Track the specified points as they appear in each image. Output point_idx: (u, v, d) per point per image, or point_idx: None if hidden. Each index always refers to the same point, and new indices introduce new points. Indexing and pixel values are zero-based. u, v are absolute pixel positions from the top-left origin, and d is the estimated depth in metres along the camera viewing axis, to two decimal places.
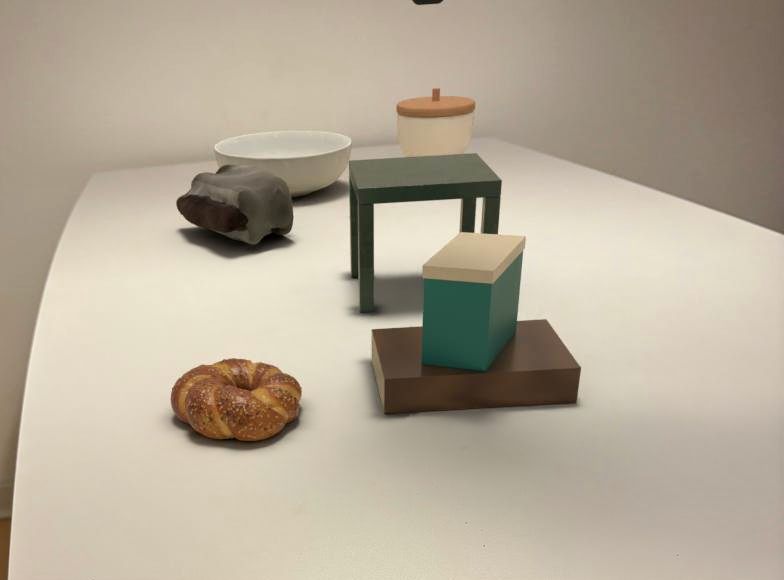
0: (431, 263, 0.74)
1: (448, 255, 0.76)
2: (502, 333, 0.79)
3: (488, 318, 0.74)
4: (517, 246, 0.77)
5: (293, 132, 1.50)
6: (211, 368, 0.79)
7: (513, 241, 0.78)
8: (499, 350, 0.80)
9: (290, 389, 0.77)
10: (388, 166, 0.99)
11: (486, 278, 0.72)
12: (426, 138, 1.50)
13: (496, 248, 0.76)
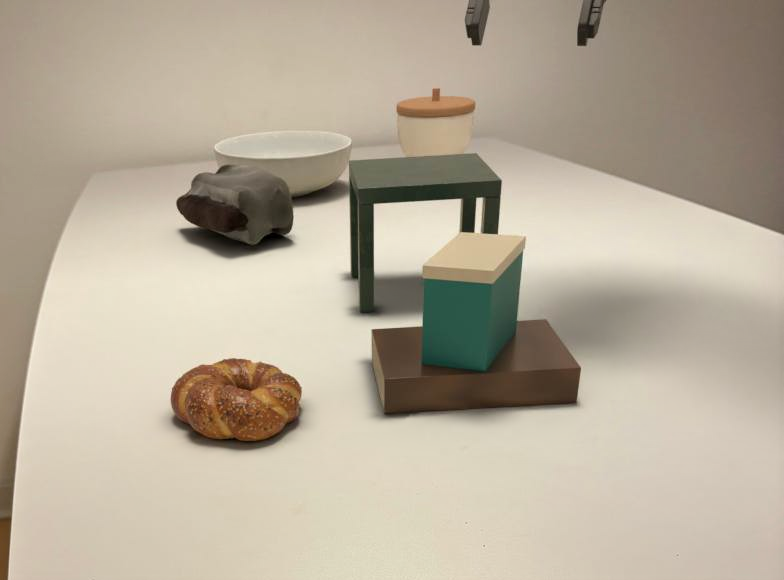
0: (431, 263, 0.74)
1: (448, 255, 0.76)
2: (502, 333, 0.79)
3: (488, 318, 0.74)
4: (517, 246, 0.77)
5: (293, 132, 1.50)
6: (211, 368, 0.79)
7: (513, 241, 0.78)
8: (499, 350, 0.80)
9: (290, 389, 0.77)
10: (388, 166, 0.99)
11: (486, 278, 0.72)
12: (426, 138, 1.50)
13: (496, 248, 0.76)
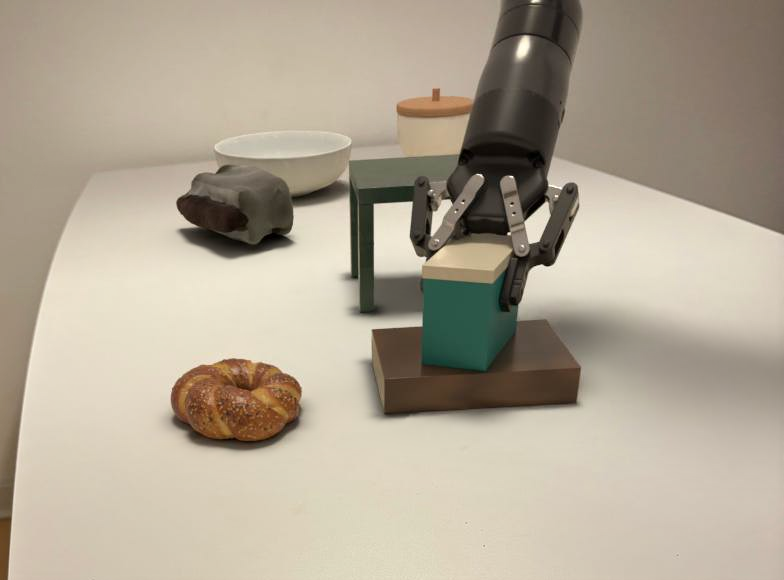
0: (431, 263, 0.74)
1: (447, 255, 0.76)
2: (502, 333, 0.79)
3: (488, 318, 0.74)
4: None
5: (293, 132, 1.50)
6: (211, 368, 0.79)
7: None
8: (499, 350, 0.79)
9: (290, 389, 0.77)
10: (388, 166, 0.99)
11: (486, 278, 0.72)
12: (426, 138, 1.50)
13: (496, 248, 0.76)
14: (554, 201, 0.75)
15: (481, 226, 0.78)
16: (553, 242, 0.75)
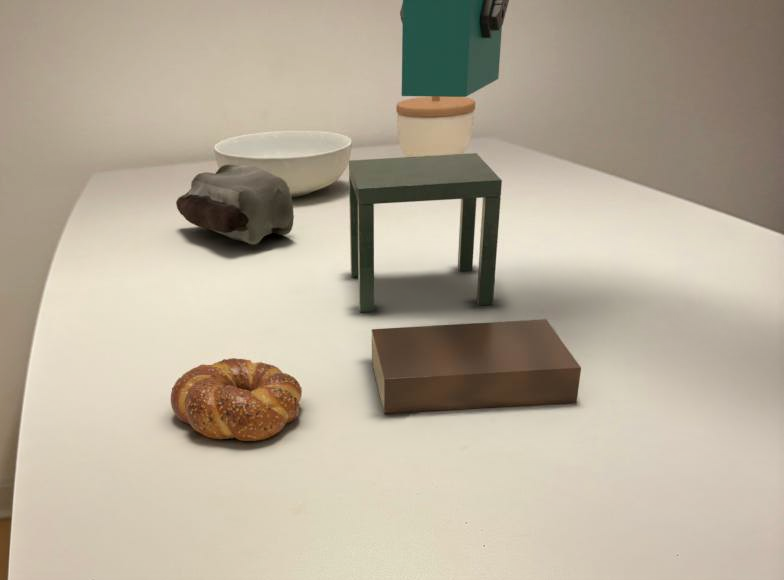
0: None
1: None
2: (483, 66, 0.78)
3: (468, 33, 0.73)
4: None
5: (293, 132, 1.50)
6: (211, 368, 0.79)
7: None
8: (480, 85, 0.78)
9: (290, 389, 0.77)
10: (388, 166, 0.99)
11: None
12: (426, 138, 1.50)
13: None
14: None
15: None
16: None
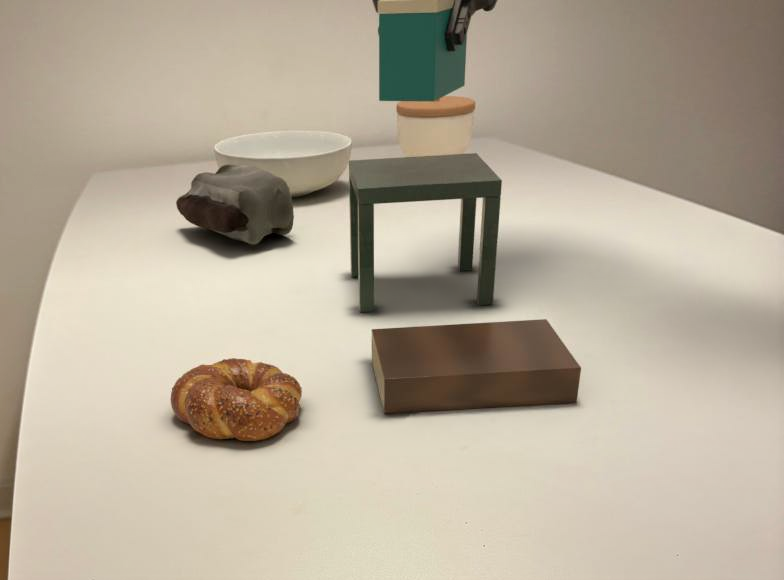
0: None
1: None
2: (450, 75, 0.91)
3: (434, 47, 0.86)
4: None
5: (293, 132, 1.50)
6: (211, 368, 0.79)
7: None
8: (447, 91, 0.91)
9: (290, 389, 0.77)
10: (388, 166, 0.99)
11: (431, 7, 0.84)
12: (426, 138, 1.50)
13: None
14: None
15: None
16: None
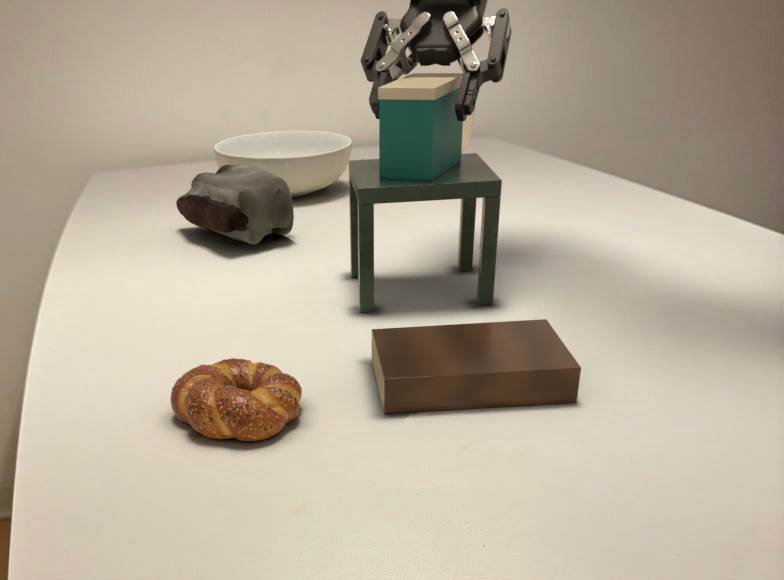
0: (385, 86, 0.90)
1: (399, 83, 0.92)
2: (446, 154, 0.95)
3: (432, 132, 0.90)
4: (458, 78, 0.93)
5: (293, 132, 1.50)
6: (211, 368, 0.79)
7: (455, 75, 0.94)
8: (444, 169, 0.96)
9: (290, 389, 0.77)
10: None
11: (429, 95, 0.88)
12: None
13: (440, 79, 0.93)
14: (491, 26, 0.91)
15: (428, 57, 0.94)
16: (499, 56, 0.90)
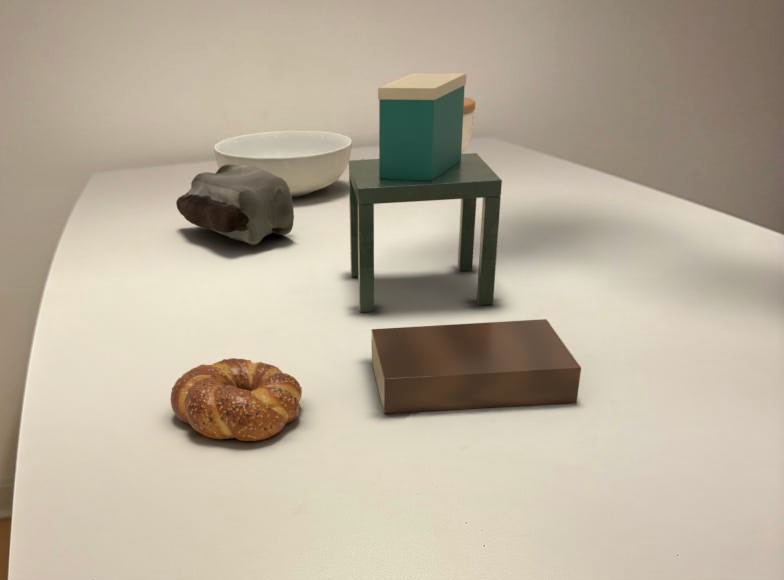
0: (385, 86, 0.90)
1: (399, 83, 0.92)
2: (446, 154, 0.95)
3: (432, 132, 0.90)
4: (458, 78, 0.93)
5: (293, 132, 1.50)
6: (211, 368, 0.79)
7: (455, 75, 0.94)
8: (444, 169, 0.96)
9: (290, 389, 0.77)
10: None
11: (429, 95, 0.88)
12: None
13: (440, 79, 0.93)
14: None
15: None
16: None
